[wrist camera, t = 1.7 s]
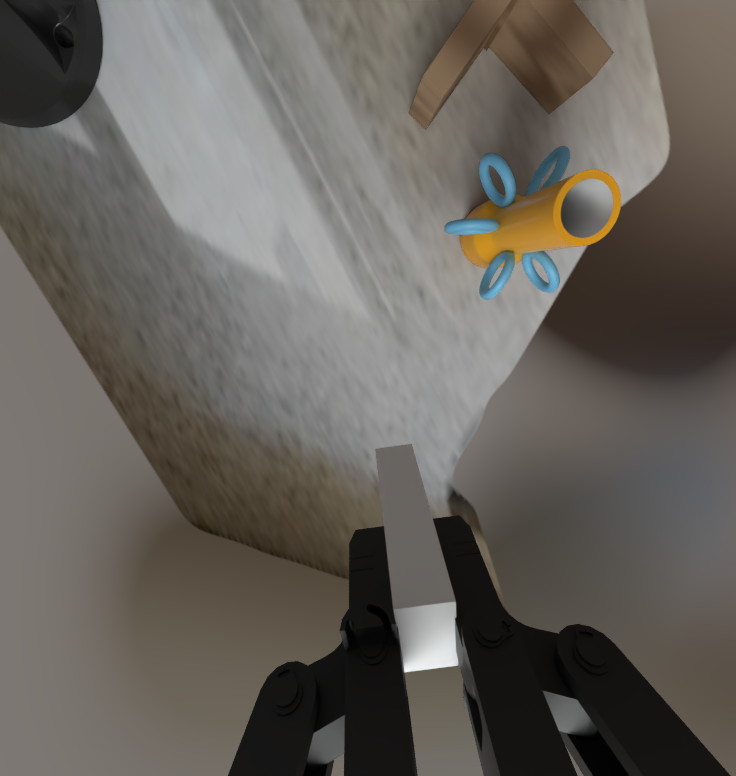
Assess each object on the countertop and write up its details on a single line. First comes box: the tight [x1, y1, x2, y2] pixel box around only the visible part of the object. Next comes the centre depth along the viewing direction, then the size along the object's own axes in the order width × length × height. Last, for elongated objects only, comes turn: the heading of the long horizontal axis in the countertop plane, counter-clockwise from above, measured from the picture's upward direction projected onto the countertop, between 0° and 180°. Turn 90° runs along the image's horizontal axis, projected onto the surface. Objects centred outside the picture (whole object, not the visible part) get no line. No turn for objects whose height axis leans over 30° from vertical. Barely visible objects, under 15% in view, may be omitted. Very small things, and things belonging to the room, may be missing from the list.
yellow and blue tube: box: [444, 146, 621, 300], centre depth 27 cm, size 12×10×15 cm
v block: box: [409, 0, 614, 130], centre depth 27 cm, size 9×14×6 cm, turn 97°
